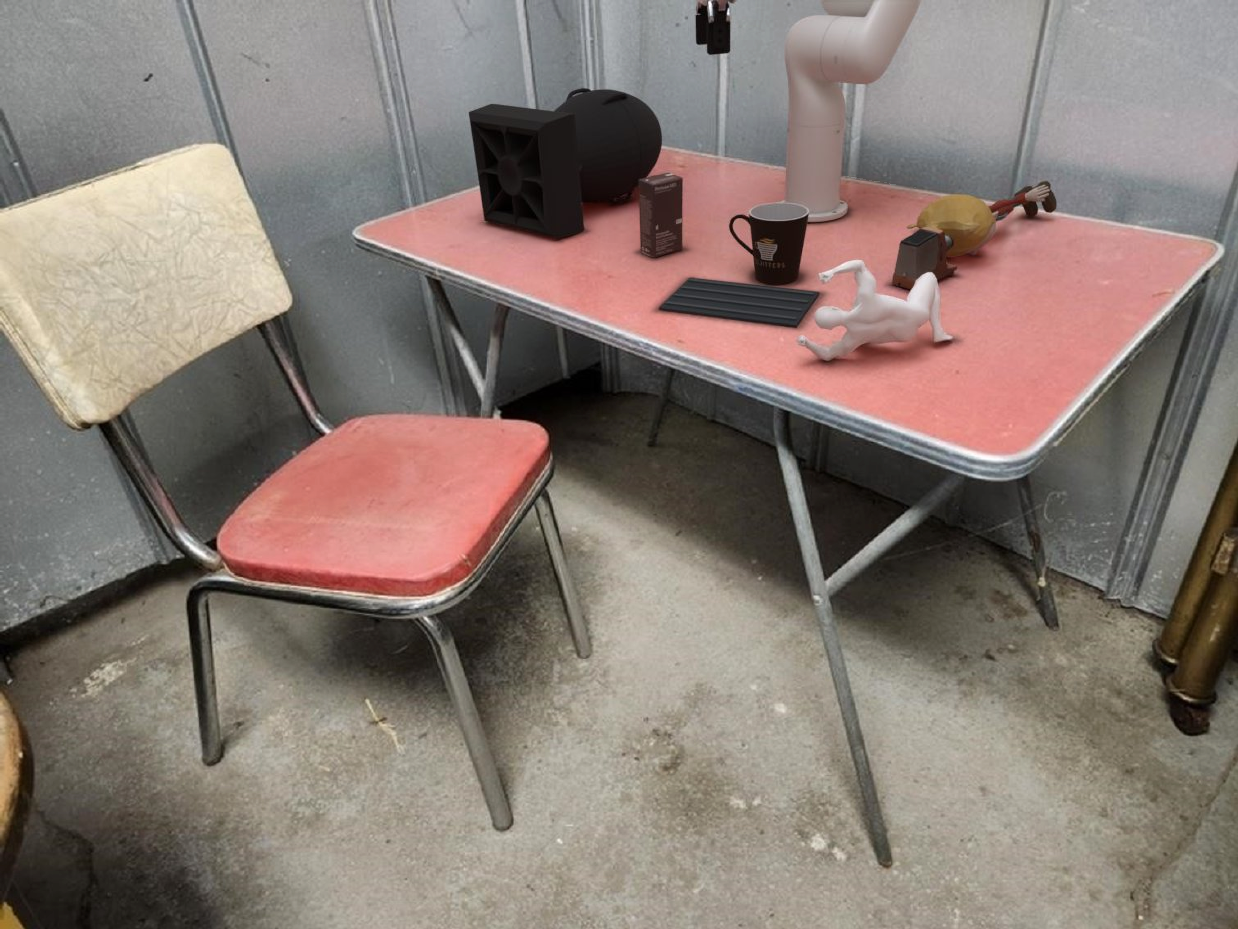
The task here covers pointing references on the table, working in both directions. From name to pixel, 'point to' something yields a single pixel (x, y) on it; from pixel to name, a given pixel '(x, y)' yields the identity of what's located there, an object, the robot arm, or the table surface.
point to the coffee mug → (775, 240)
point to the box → (660, 214)
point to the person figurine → (877, 313)
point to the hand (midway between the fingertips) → (712, 48)
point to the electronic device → (922, 257)
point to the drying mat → (741, 301)
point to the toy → (979, 216)
